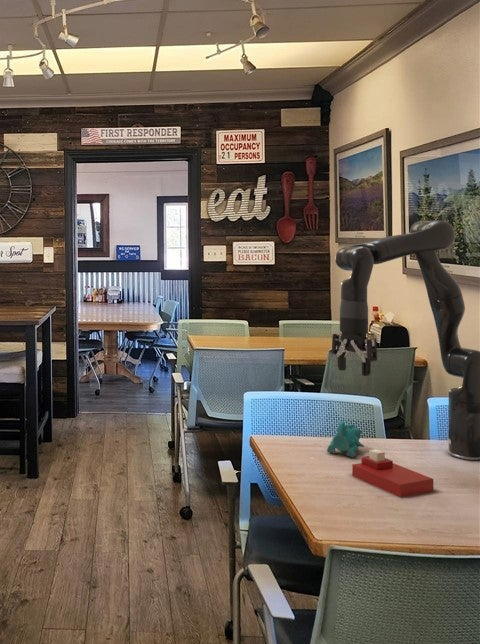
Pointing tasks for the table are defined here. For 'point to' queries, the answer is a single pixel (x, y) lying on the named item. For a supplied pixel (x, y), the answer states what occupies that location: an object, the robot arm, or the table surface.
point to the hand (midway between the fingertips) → (353, 372)
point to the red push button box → (392, 477)
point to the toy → (346, 440)
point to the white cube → (377, 455)
